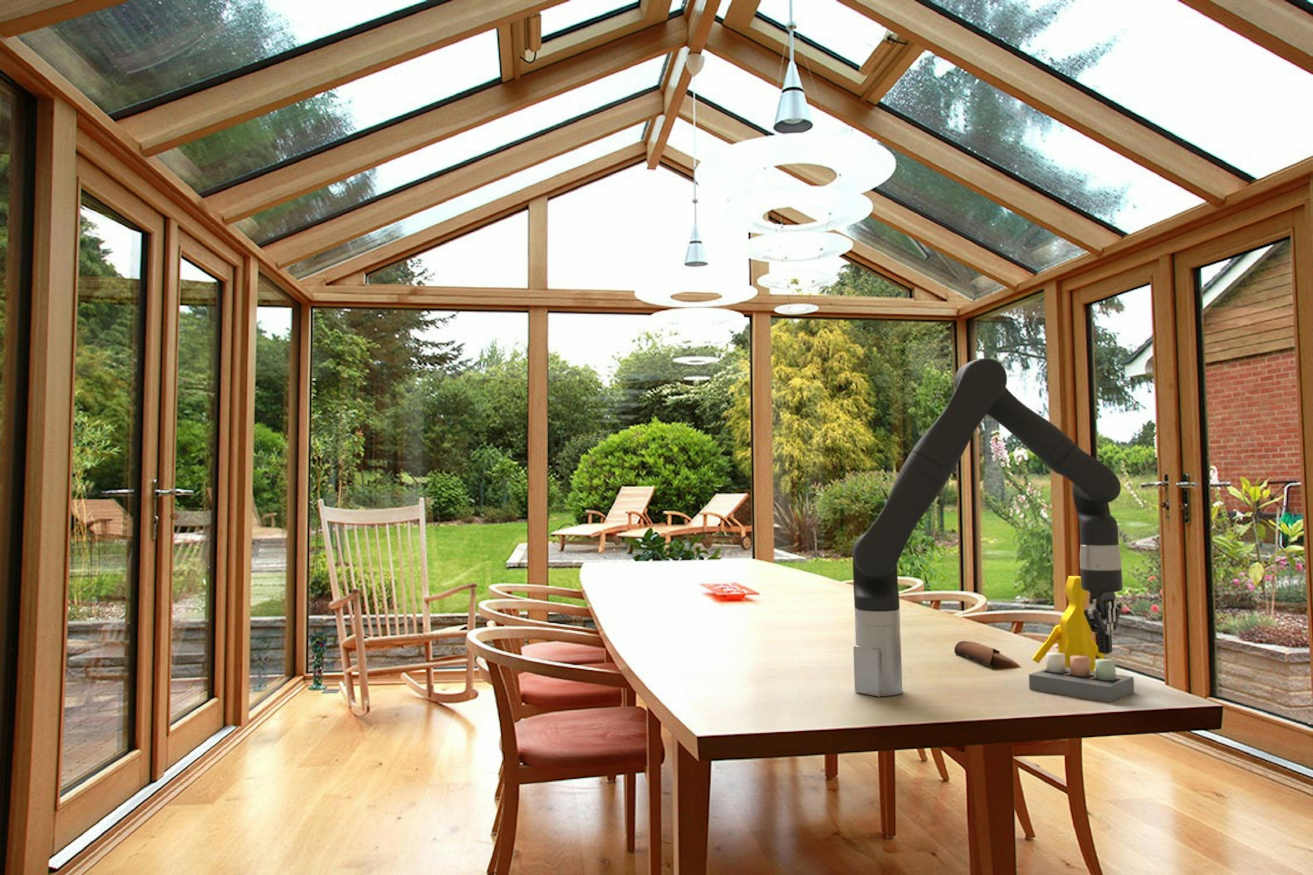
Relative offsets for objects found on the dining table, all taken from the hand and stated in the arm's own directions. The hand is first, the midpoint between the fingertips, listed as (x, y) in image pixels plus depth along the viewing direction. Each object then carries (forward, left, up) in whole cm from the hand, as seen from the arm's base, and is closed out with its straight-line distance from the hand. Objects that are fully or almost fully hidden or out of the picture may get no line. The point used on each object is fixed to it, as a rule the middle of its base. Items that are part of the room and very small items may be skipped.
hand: (1105, 652), depth 175 cm
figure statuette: (+14, +12, -9) cm, 20 cm away
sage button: (0, 0, -5) cm, 5 cm away
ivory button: (0, +10, -5) cm, 11 cm away
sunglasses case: (+14, +33, -9) cm, 37 cm away
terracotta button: (0, +5, -5) cm, 7 cm away
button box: (0, +5, -8) cm, 10 cm away
